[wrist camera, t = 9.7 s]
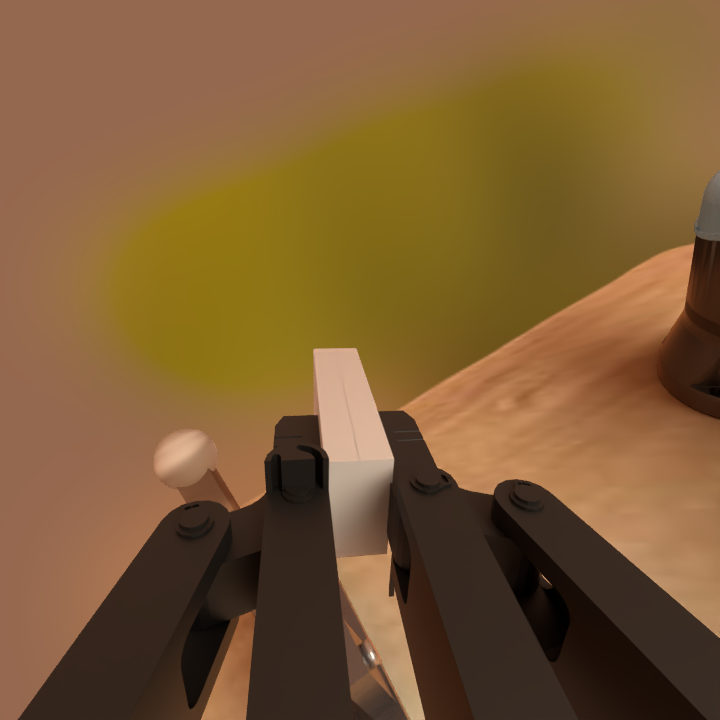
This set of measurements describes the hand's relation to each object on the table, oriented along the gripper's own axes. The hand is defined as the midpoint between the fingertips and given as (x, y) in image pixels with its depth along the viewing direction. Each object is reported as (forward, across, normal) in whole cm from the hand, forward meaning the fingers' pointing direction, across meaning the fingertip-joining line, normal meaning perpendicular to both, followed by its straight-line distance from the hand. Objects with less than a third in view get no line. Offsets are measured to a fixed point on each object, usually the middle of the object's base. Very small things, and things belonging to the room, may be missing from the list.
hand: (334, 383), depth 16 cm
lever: (+6, 0, -27) cm, 28 cm away
